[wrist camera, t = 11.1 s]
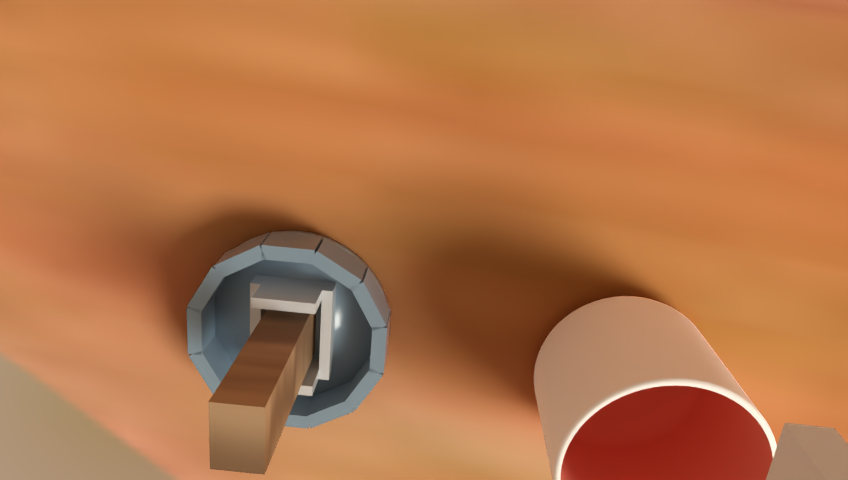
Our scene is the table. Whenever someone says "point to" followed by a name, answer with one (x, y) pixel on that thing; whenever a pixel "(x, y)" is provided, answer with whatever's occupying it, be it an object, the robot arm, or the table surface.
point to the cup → (644, 399)
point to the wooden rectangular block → (260, 392)
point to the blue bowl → (304, 293)
